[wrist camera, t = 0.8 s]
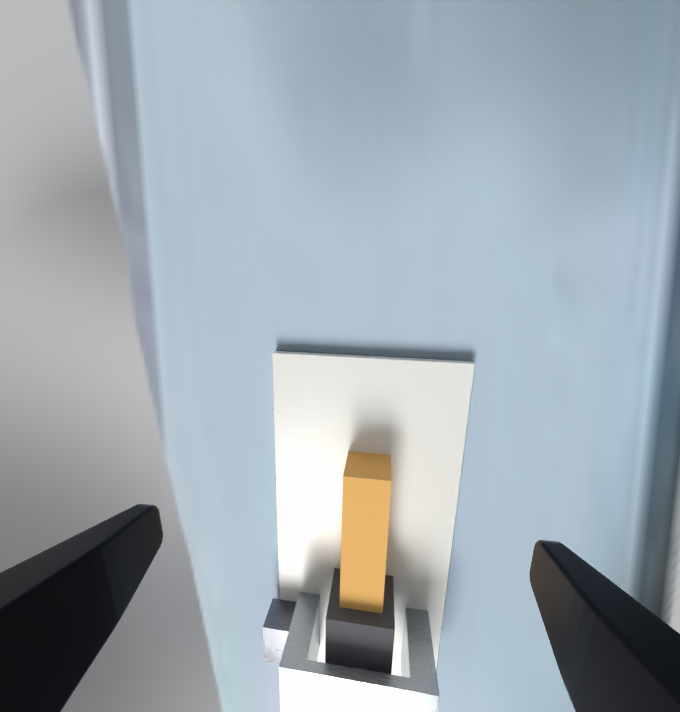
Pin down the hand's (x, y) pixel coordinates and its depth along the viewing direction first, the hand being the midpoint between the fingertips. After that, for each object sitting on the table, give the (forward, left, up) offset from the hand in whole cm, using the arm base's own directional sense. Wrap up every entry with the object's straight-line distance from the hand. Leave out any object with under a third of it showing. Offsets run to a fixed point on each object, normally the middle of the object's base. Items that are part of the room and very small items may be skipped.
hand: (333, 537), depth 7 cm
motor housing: (0, +19, -12) cm, 22 cm away
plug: (0, +12, -12) cm, 17 cm away
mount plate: (0, +18, -13) cm, 22 cm away
